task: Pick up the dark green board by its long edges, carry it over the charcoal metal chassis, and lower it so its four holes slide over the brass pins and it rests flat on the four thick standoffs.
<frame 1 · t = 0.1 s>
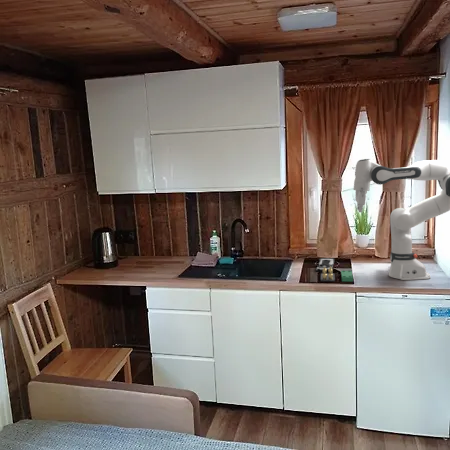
hand: (359, 211, 268), 39 cm above the worktop, tool pointing down, fingers open, 8 cm apart
chassis: (327, 277, 273), on the worktop
graphics card: (324, 268, 298), on the worktop
green board: (346, 278, 271), on the worktop
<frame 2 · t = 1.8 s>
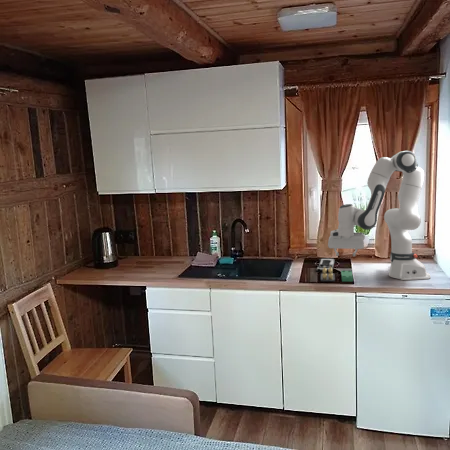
hand: (345, 255, 269), 13 cm above the worktop, tool pointing down, fingers open, 8 cm apart
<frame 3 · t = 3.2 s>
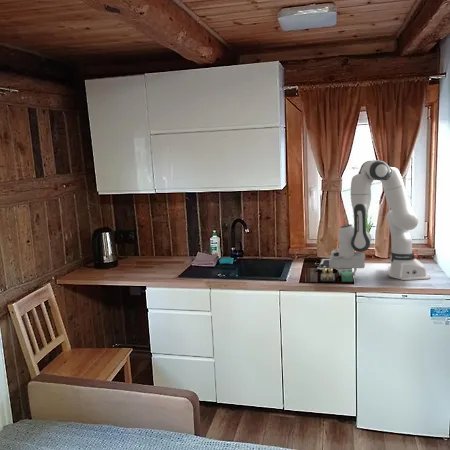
hand: (346, 275, 271), 2 cm above the worktop, tool pointing down, fingers closed on green board, 6 cm apart
green board: (346, 278, 271), on the worktop, touching gripper
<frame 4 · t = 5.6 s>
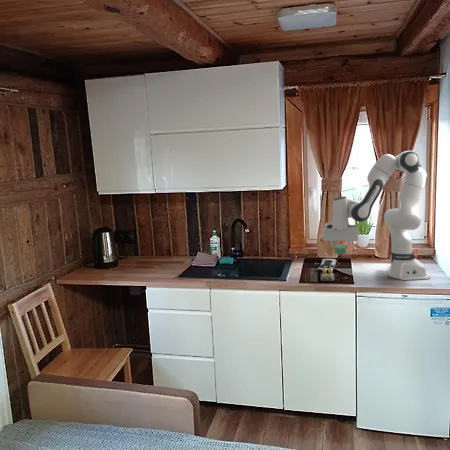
hand: (339, 248, 269), 18 cm above the worktop, tool pointing down, fingers closed on green board, 6 cm apart
green board: (340, 251, 269), point 16 cm above the worktop, touching gripper
when the fingers open (6 cm above the worktop, at t = 8.2 s): green board stays where it is, resting on chassis.
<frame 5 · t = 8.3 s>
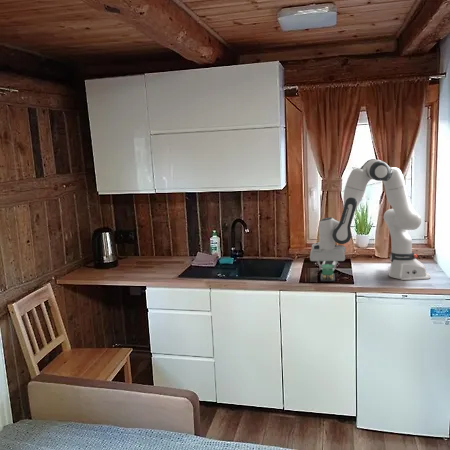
hand: (327, 268, 272), 6 cm above the worktop, tool pointing down, fingers open, 7 cm apart
green board: (327, 271, 273), point 4 cm above the worktop, touching chassis
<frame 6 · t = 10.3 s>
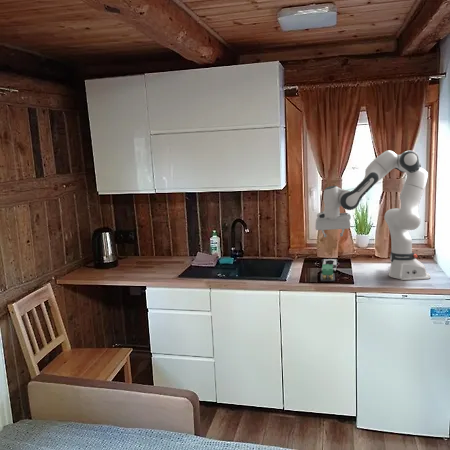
hand: (333, 236, 274), 24 cm above the worktop, tool pointing down, fingers open, 8 cm apart
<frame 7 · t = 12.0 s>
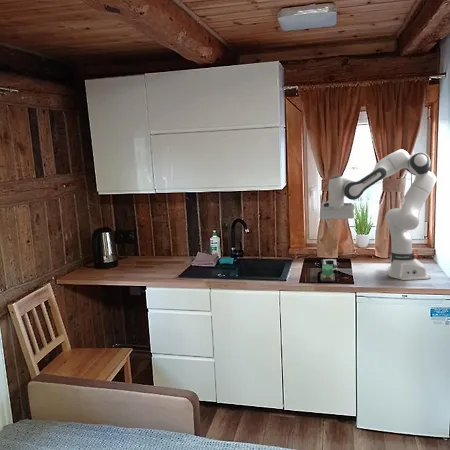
hand: (336, 226, 278), 29 cm above the worktop, tool pointing down, fingers open, 8 cm apart
at the end: green board 0.0 cm off-centre on the chassis, point 4.0 cm above the chassis's base; green board tilted 0°; the gripper is holding nothing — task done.
